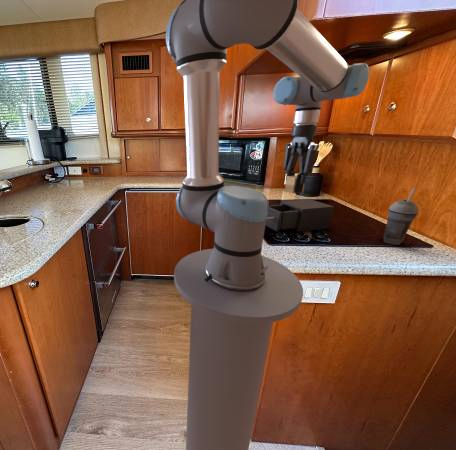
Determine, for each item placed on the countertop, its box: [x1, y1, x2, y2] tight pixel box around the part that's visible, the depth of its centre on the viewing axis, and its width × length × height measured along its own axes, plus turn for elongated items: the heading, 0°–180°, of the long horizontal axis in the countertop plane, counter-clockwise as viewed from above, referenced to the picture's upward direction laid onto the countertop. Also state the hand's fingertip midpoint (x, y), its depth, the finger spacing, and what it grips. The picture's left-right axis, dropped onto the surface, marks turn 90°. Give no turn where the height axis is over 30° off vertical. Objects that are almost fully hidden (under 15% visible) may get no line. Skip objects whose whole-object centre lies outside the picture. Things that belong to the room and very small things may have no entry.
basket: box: [265, 204, 301, 232], centre depth 99 cm, size 19×11×8 cm, turn 102°
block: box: [284, 175, 306, 194], centre depth 90 cm, size 4×4×6 cm
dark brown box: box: [279, 198, 335, 233], centre depth 102 cm, size 15×13×10 cm
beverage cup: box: [382, 187, 419, 246], centre depth 82 cm, size 7×7×20 cm
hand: (293, 190), depth 91 cm, fingers closed on block, 4 cm apart
